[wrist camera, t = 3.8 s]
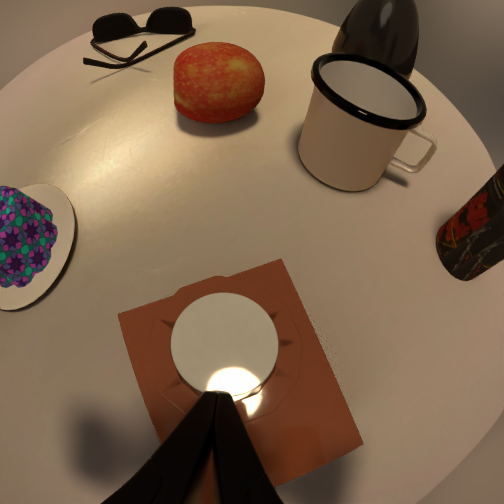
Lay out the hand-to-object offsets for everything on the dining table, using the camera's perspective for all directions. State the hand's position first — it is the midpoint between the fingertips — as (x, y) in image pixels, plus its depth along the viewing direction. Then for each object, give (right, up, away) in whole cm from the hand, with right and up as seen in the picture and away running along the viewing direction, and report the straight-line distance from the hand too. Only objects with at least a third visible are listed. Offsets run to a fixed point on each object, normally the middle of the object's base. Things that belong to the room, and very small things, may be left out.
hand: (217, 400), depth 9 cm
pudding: (-19, +5, +13) cm, 23 cm away
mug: (+11, +13, +19) cm, 25 cm away
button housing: (0, -4, +10) cm, 10 cm away
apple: (-2, +19, +20) cm, 27 cm away
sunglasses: (-16, +32, +25) cm, 43 cm away
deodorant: (+21, +5, +16) cm, 26 cm away
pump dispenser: (+15, +27, +25) cm, 40 cm away
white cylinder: (0, 0, +5) cm, 5 cm away
